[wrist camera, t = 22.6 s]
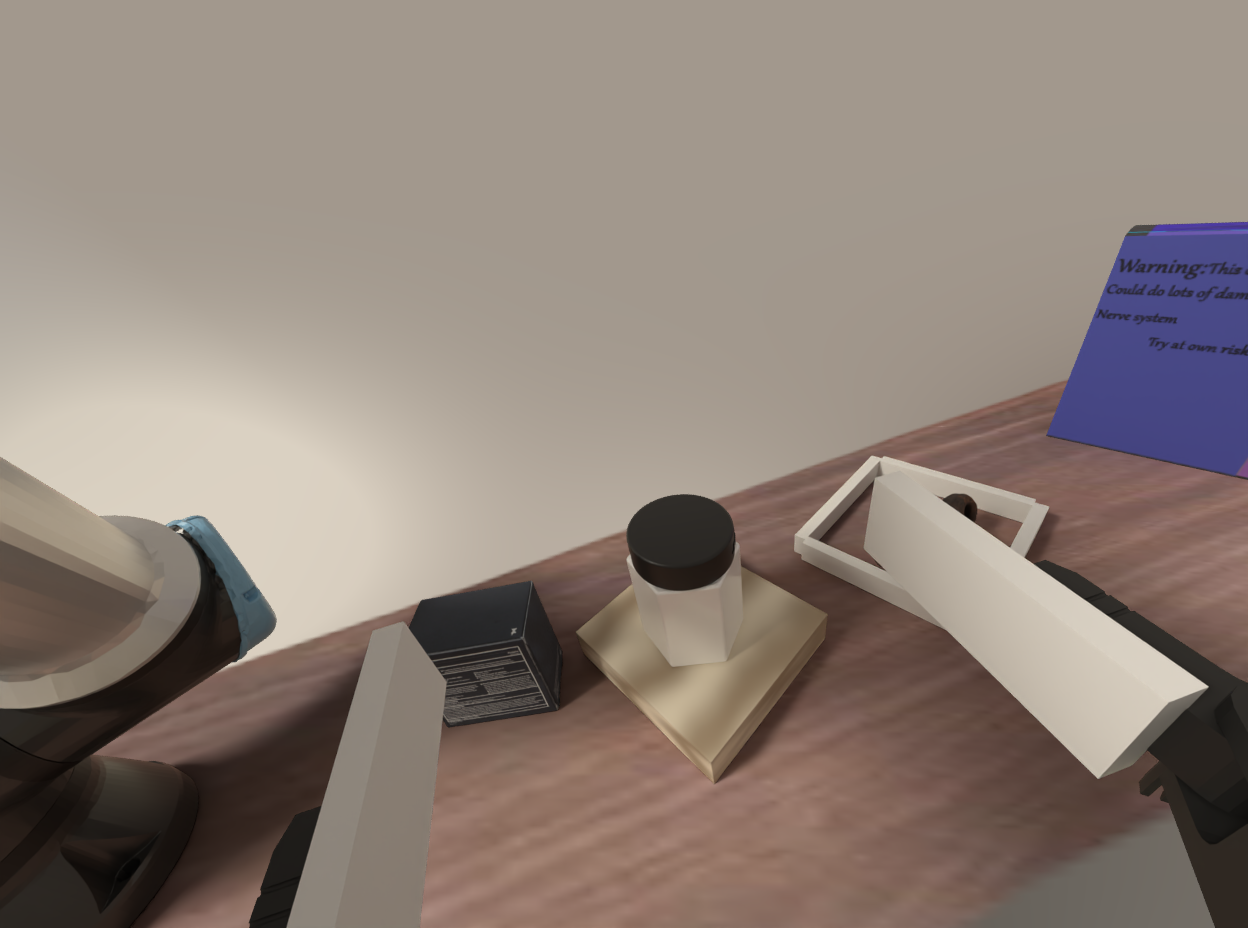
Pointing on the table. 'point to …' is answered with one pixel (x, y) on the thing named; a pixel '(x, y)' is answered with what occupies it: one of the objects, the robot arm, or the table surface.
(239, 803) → the table surface
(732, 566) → the jar
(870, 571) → the grey tray rim
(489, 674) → the small box
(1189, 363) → the cereal box
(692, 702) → the maple base
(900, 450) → the table surface
